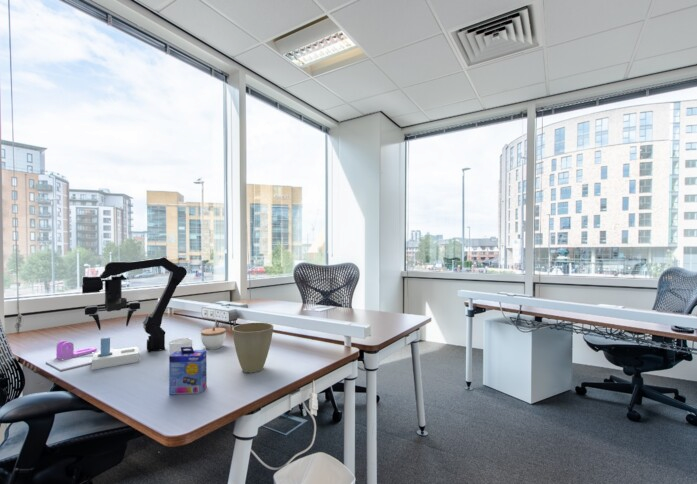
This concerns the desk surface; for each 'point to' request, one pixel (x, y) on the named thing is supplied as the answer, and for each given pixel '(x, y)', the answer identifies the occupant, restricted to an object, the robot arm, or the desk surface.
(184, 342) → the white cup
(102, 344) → the peg
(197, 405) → the desk surface
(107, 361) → the hole block
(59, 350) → the bracket
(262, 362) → the plant pot
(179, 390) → the ink cartridge box
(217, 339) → the lidded jar
